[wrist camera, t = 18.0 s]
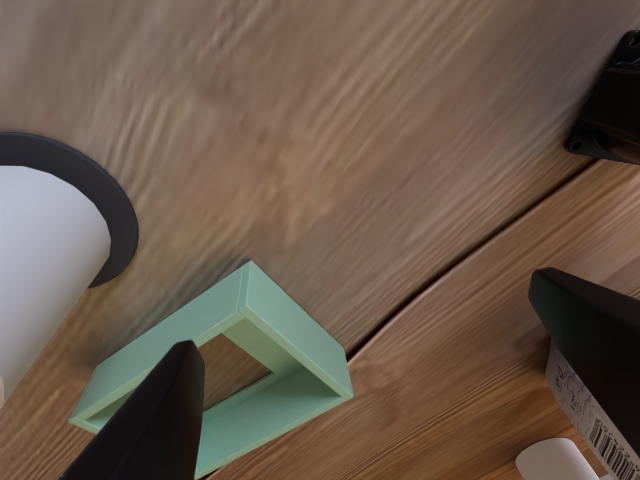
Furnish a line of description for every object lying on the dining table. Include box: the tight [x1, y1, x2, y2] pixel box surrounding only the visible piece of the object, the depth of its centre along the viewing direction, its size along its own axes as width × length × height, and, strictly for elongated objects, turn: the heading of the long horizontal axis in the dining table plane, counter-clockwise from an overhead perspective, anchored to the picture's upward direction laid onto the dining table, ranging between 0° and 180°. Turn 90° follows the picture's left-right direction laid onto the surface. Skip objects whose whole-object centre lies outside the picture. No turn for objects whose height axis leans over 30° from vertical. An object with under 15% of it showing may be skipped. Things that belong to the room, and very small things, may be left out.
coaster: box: [0, 132, 139, 288], centre depth 20 cm, size 10×10×1 cm
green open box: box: [68, 260, 354, 480], centre depth 26 cm, size 15×11×4 cm
